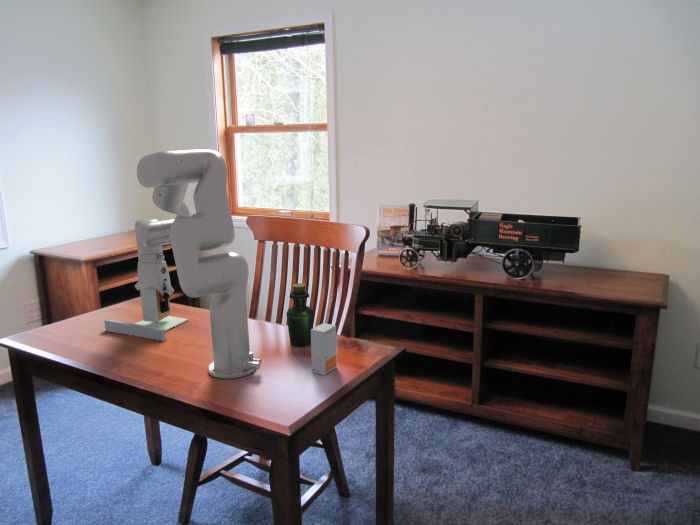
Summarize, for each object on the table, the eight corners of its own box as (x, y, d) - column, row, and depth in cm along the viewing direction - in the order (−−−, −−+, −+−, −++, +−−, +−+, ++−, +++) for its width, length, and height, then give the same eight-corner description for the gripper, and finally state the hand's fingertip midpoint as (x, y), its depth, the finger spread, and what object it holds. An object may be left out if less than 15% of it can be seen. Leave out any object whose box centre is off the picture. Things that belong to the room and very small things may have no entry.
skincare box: (324, 376, 143) (323, 332, 140) (311, 372, 145) (309, 329, 142) (337, 367, 148) (336, 325, 145) (324, 364, 150) (323, 322, 147)
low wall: (165, 339, 169) (164, 329, 168) (163, 341, 168) (161, 330, 167) (108, 329, 179) (107, 319, 178) (105, 330, 178) (104, 320, 177)
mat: (188, 320, 186) (188, 319, 186) (158, 334, 173) (158, 333, 173) (157, 315, 191) (156, 314, 191) (125, 329, 179) (125, 327, 179)
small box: (158, 322, 177) (155, 291, 175) (142, 321, 179) (139, 290, 176) (171, 314, 185) (168, 284, 183) (156, 313, 186) (152, 283, 184)
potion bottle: (312, 348, 160) (310, 289, 156) (284, 348, 161) (281, 288, 157) (317, 338, 168) (315, 281, 164) (291, 337, 169) (288, 281, 165)
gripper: (180, 257, 177) (185, 310, 181) (139, 252, 184) (145, 304, 188) (163, 262, 170) (168, 317, 174) (121, 257, 177) (128, 310, 181)
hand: (156, 310), depth 181 cm, fingers closed on small box, 6 cm apart
